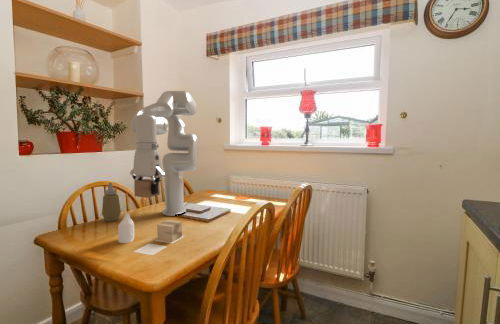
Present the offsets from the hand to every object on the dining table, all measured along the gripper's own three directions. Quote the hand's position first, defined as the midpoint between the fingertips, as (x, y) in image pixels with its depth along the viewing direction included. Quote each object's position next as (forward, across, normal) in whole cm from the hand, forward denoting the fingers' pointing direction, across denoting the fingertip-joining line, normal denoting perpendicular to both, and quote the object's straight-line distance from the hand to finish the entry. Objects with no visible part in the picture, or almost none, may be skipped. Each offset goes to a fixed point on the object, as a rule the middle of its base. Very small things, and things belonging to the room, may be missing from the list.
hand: (147, 192), depth 109 cm
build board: (+19, -10, +5) cm, 22 cm away
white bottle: (+19, +4, +7) cm, 20 cm away
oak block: (+17, -10, -1) cm, 20 cm away
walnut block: (+1, 0, 0) cm, 1 cm away
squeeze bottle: (+18, +32, -13) cm, 39 cm away
